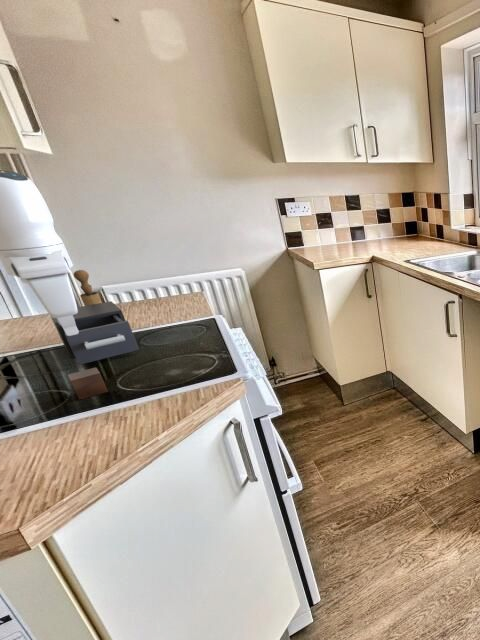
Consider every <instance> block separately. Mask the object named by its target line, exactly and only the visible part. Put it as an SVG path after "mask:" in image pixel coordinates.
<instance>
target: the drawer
mask: <svg viewBox="0 0 480 640" xmlns="http://www.w3.org/2000/svg"><path fill="white" fill-rule="evenodd" d="M75 324H76V327H77V329H78V331H79V333H78V334H76V335H72V336H67V335H66V333H65V336H66V338H67V340H68V342H69V344H70V347H71V349H72V351H73V353H74V355H75V360H76V362H77V364H78V365H79V366H81V365H84V364H89V363H92V362H96V361H100V360H104V359H108V358H113V357H116V356H117V357H118V356H120V355H123V354H128V353H132V352H137V351H139V350H140V347H139V345H138V342H137V341H136V337H135V335H134V332H133V330H132V328H131V324H130V322H129V321H128V320H126V321H122V320H121V319H120V318H119V317H118V316H117V315H116V314H113V315H108V316H103V317H98V318H93V319H88V320H83V321H78V322H75Z"/></svg>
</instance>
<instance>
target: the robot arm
mask: <svg viewBox="0 0 480 640" xmlns="http://www.w3.org/2000/svg"><path fill="white" fill-rule="evenodd" d="M54 223H55V222H54V217H53V216H52V213H51V211H50V209H49V207H48V205H47V203H46V201H45V199H44V197H43V195H42V193H41V192H40V190H39V188H38V187H37V186H36V184H35V183H34V182H33V181H32V180H31V178H29V177H28V176H27V175H24V174H22V173H19V172H15V171H8V170H0V262H1V264H2V266H3V268H4V270H5V272H6V274H7V275H8V276H14V277H17V278H20V282H22V283H24V284H27V285H28V286H29V287H30V289H31V290H32V292H33V293H34V294H35V296H36V297H37V299H38V301H39V302H40V304H41V305H42V306H43V308H44V309H45V311H46V312H47V313H48V315H49V316H50V318H51V317H52V318H56V319H57V321H58V323H59V324H60V325H61V326H62V327H63V329H64V331H65V333H66V335H67V336H72V335H76V334H78V333H79V331H78V329H77V327H76V324H75V320H74V317H73V315H74V314H77V313H78V310H77V307H78V305H77V301H76V297H75V295H74V292H73V291H74V290H73V288H72V284H71V281H70V278H69V273H71V268H73V267H74V264H73V262H72V260H71V257H70V255H69V252H68V250H67V248H66V245H65V243H64V241H63V239H62V238H61V237H60V236H59V235H58V233H57V231H56V229H55V225H54ZM52 318H51V319H52Z"/></svg>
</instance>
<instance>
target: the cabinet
mask: <svg viewBox="0 0 480 640" xmlns="http://www.w3.org/2000/svg"><path fill="white" fill-rule="evenodd" d="M77 310H78V313H77V314H74V315H73V317H74V320H75V322H78V321H83V320H88V319H93V318H98V317H103V316H108V315H113V314H116V315H117V316H118V317H119V318H120V319H121V320H122V321H127V320H126V319H125V315H124V313H123V310H122V309H121V308H120V307H118V306H117V305H116V304H115V303H114V302H113V301H105V302H102V303H99V304H93V305H88V306H84V305H82V306H77ZM50 318H51V321H52V322H53V325H54V327H55V330H56V331H57V334H58V336H59V338H60V340H61V342H62V344H63V347H64V348H65V350H66V352H67V354H68V355H69V357H70V359H74V358H75V355H74V353H73V351H72V349H71V347H70V344H69V342H68V340H67V338H66V336H65V331H64V329H63V327H62V326H61V325H60V324H59V323H58V321H57V319H56V318H52V317H51V316H50ZM75 359H76V358H75Z"/></svg>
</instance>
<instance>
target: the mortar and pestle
mask: <svg viewBox="0 0 480 640" xmlns="http://www.w3.org/2000/svg"><path fill="white" fill-rule="evenodd" d="M73 277H74V279H75V280H77V281H78V282H79V283H80V289H81V290H82V292H83V293H81V294H80V295H79V297H80V299H81V301H82V303H83V306H88V305H93V304H99V303H103V302H102V299H101V297H100V294H99V292H97V291H93V287H92V285H91V284H89V278H90V274H89V273H88V272H87V271H86V270H85V269H78V270H75V271H74V272H73Z"/></svg>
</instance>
